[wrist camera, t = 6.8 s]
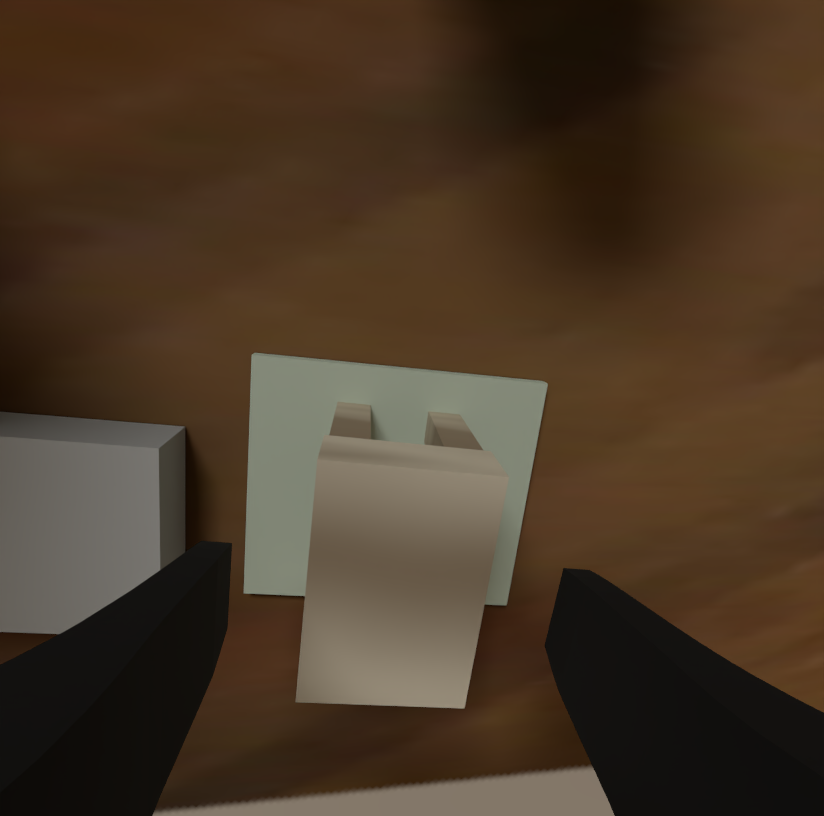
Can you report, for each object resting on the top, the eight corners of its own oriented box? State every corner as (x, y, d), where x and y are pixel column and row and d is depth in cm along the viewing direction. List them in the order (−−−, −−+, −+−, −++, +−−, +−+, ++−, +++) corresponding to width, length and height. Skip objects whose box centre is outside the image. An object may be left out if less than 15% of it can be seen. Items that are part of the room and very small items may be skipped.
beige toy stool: (436, 580, 17) (464, 708, 12) (317, 572, 16) (295, 702, 11) (463, 411, 15) (508, 477, 10) (335, 398, 15) (317, 459, 10)
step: (-65, 406, 14) (-131, 426, 13) (185, 426, 15) (158, 448, 13) (-42, 585, 16) (-98, 628, 14) (185, 595, 17) (161, 637, 15)
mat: (254, 352, 15) (251, 354, 14) (543, 381, 16) (548, 383, 15) (246, 585, 17) (243, 593, 16) (503, 598, 18) (506, 605, 17)
